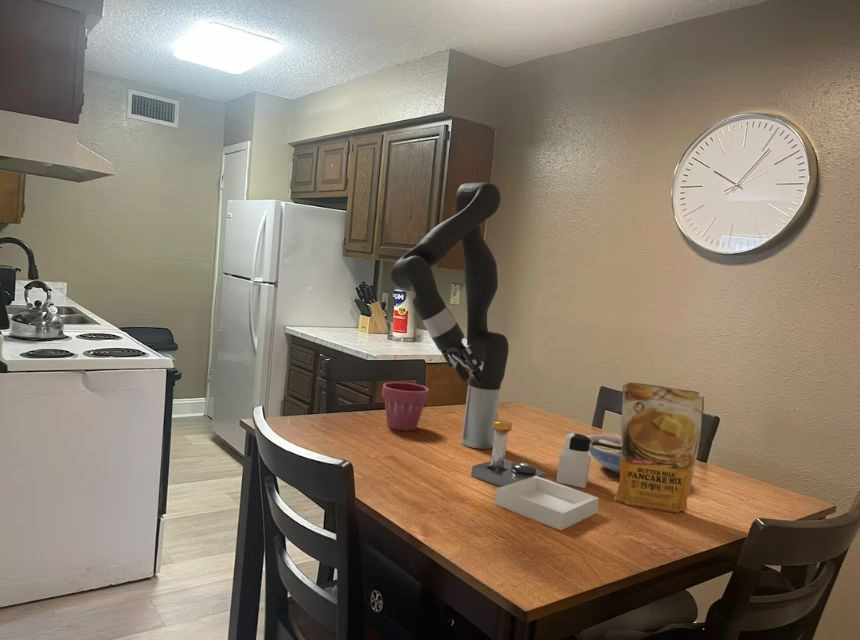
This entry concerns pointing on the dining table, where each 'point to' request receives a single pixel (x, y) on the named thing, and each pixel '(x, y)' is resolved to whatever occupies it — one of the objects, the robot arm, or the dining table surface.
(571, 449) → the medicine bottle
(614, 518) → the dining table surface
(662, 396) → the pancake mix bag
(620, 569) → the dining table surface
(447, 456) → the dining table surface
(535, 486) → the tray
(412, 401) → the plant pot
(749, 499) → the dining table surface
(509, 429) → the pin
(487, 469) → the grey flat square block
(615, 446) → the ramen bowl
